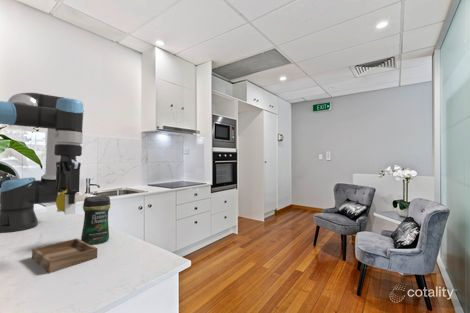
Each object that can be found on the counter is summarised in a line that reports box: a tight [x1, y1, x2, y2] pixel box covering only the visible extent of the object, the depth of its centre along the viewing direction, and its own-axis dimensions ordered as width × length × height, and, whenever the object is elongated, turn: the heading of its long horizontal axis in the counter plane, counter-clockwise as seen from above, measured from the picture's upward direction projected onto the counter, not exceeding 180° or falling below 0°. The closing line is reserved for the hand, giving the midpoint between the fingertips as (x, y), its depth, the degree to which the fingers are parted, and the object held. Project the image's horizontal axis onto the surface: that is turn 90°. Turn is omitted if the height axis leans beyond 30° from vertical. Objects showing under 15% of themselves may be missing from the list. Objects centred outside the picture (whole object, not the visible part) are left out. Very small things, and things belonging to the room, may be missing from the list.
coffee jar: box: [80, 195, 111, 246], centre depth 91 cm, size 10×8×19 cm
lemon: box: [55, 190, 77, 214], centre depth 76 cm, size 6×6×8 cm
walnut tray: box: [31, 238, 98, 274], centre depth 75 cm, size 16×13×3 cm
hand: (65, 212), depth 76 cm, fingers closed on lemon, 5 cm apart
